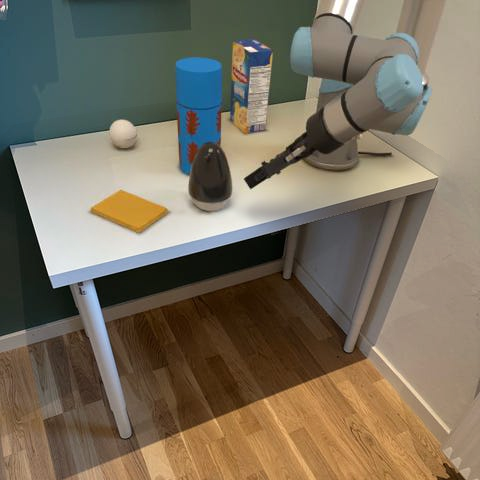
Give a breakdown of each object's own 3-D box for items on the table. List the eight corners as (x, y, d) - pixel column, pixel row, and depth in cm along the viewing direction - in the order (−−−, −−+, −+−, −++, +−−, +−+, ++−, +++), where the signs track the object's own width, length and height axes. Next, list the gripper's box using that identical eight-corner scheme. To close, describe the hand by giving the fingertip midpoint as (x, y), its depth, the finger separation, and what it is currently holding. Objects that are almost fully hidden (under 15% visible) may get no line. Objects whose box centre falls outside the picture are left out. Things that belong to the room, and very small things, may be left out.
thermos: (212, 180, 119) (213, 75, 102) (173, 173, 121) (167, 68, 103) (225, 162, 127) (228, 61, 109) (187, 155, 129) (185, 54, 111)
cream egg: (118, 155, 126) (114, 128, 121) (106, 144, 131) (102, 118, 125) (151, 147, 131) (149, 121, 126) (139, 137, 135) (136, 111, 130)
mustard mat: (167, 212, 108) (167, 208, 107) (139, 233, 102) (138, 228, 101) (121, 193, 113) (120, 189, 112) (91, 212, 106) (90, 207, 106)
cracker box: (245, 133, 140) (250, 52, 125) (229, 119, 147) (232, 40, 132) (265, 130, 143) (273, 50, 127) (249, 116, 149) (254, 39, 134)
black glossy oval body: (183, 213, 108) (181, 150, 97) (194, 191, 115) (193, 130, 105) (226, 220, 107) (229, 156, 96) (235, 197, 114) (238, 136, 104)
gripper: (331, 156, 81) (242, 210, 98) (358, 132, 89) (272, 185, 106) (308, 117, 79) (222, 179, 96) (338, 96, 87) (254, 156, 104)
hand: (248, 182), depth 101 cm, fingers closed
